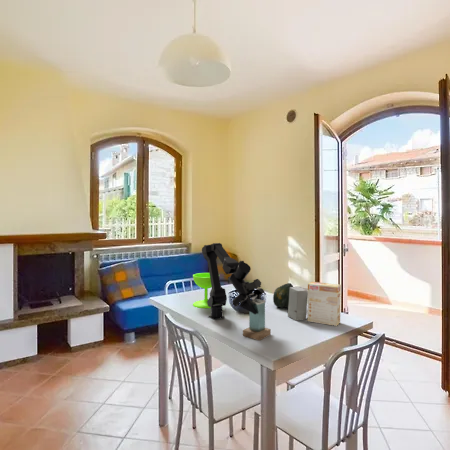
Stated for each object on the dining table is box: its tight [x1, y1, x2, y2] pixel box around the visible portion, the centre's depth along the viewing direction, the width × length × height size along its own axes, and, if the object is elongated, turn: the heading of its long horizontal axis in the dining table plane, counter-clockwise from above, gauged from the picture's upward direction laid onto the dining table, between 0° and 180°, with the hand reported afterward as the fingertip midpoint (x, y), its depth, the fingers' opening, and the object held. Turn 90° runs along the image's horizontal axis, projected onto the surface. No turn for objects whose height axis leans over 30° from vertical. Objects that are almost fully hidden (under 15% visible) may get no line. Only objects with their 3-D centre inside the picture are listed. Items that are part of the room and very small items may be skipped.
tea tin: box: [248, 299, 266, 332], centre depth 149 cm, size 5×5×13 cm
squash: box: [272, 282, 294, 309], centre depth 195 cm, size 14×15×15 cm
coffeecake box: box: [307, 281, 342, 327], centre depth 168 cm, size 15×7×20 cm, turn 58°
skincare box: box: [287, 286, 308, 322], centre depth 174 cm, size 8×7×16 cm
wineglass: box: [192, 272, 212, 309], centre depth 199 cm, size 16×16×18 cm
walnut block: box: [242, 327, 272, 341], centre depth 149 cm, size 9×9×3 cm
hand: (259, 312), depth 148 cm, fingers open, 6 cm apart
